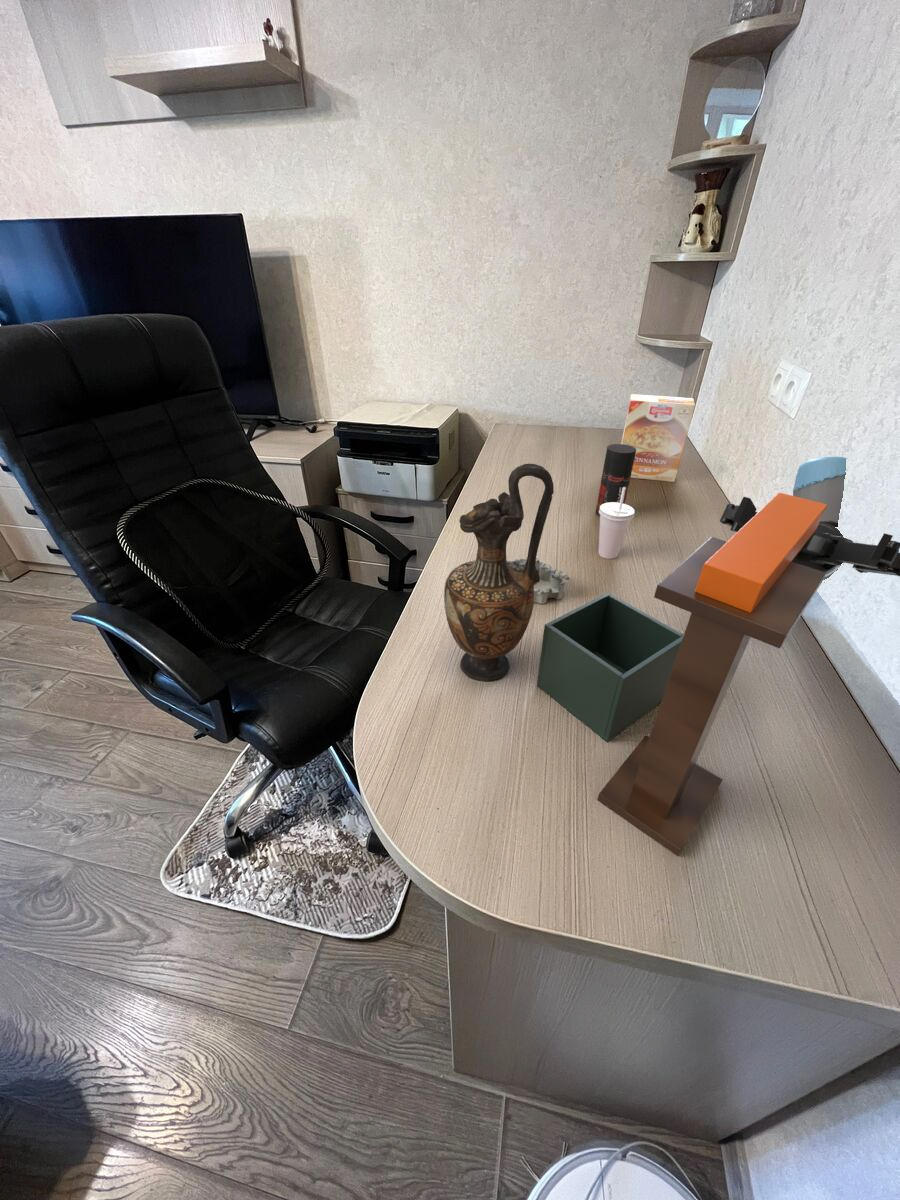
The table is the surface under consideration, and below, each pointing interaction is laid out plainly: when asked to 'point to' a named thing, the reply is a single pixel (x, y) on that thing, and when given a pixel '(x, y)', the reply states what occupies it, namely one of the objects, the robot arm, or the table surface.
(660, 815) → the stand
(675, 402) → the coffeecake box
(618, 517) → the smoothie
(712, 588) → the block
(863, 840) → the table surface
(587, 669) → the trash bin
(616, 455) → the deodorant
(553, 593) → the egg carton
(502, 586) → the vase
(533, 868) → the table surface
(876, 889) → the table surface
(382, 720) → the table surface
